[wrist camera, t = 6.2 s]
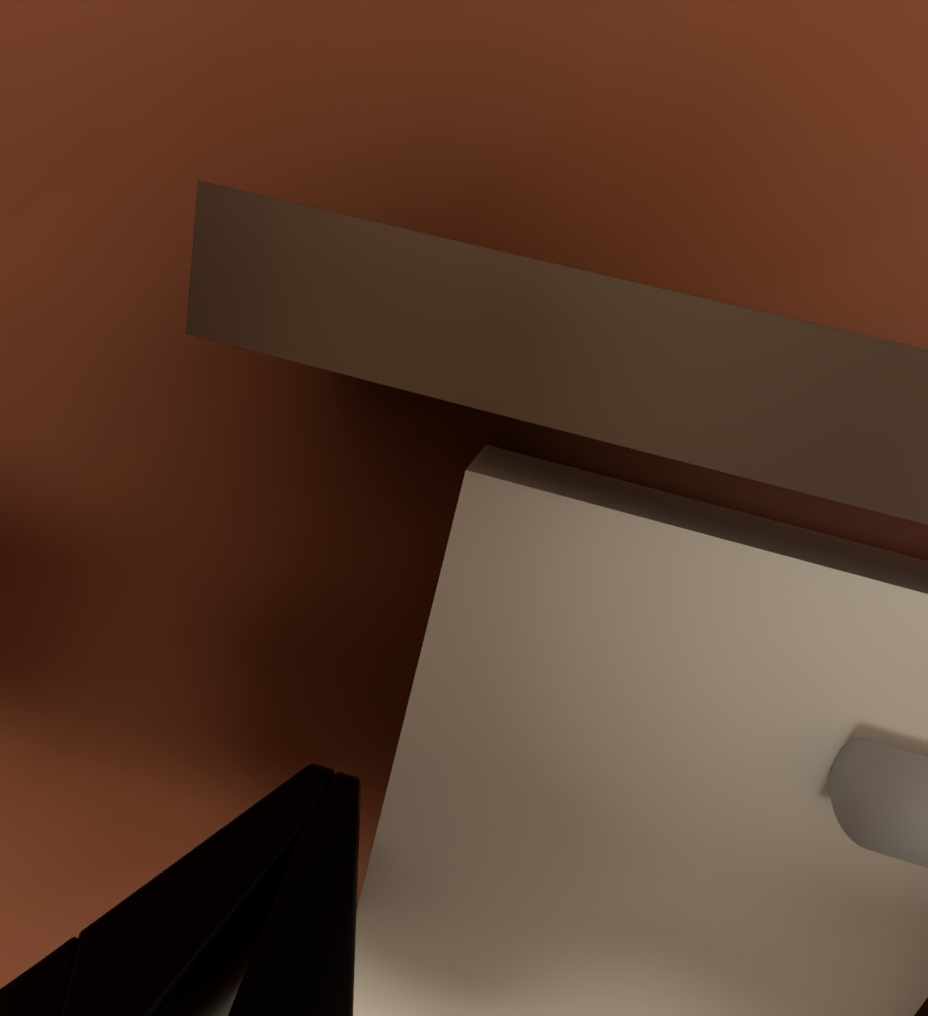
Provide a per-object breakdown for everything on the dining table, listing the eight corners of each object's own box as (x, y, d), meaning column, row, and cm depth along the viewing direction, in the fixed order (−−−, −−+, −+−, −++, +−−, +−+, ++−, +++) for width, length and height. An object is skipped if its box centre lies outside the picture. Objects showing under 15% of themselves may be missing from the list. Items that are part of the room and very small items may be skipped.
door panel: (362, 934, 11) (279, 1197, 7) (489, 440, 8) (448, 489, 4) (686, 1047, 10) (759, 1385, 7) (957, 564, 7) (1336, 732, 4)
